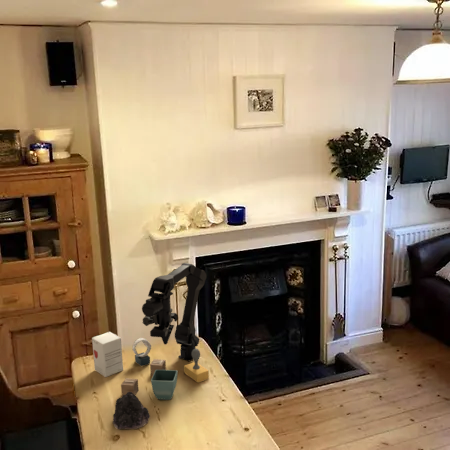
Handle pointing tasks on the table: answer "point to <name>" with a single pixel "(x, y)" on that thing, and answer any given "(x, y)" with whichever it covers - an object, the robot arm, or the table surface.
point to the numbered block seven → (157, 365)
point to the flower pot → (164, 383)
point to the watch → (142, 357)
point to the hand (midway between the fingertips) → (165, 344)
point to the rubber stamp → (196, 368)
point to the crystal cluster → (130, 412)
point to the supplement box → (107, 354)
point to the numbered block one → (129, 386)
